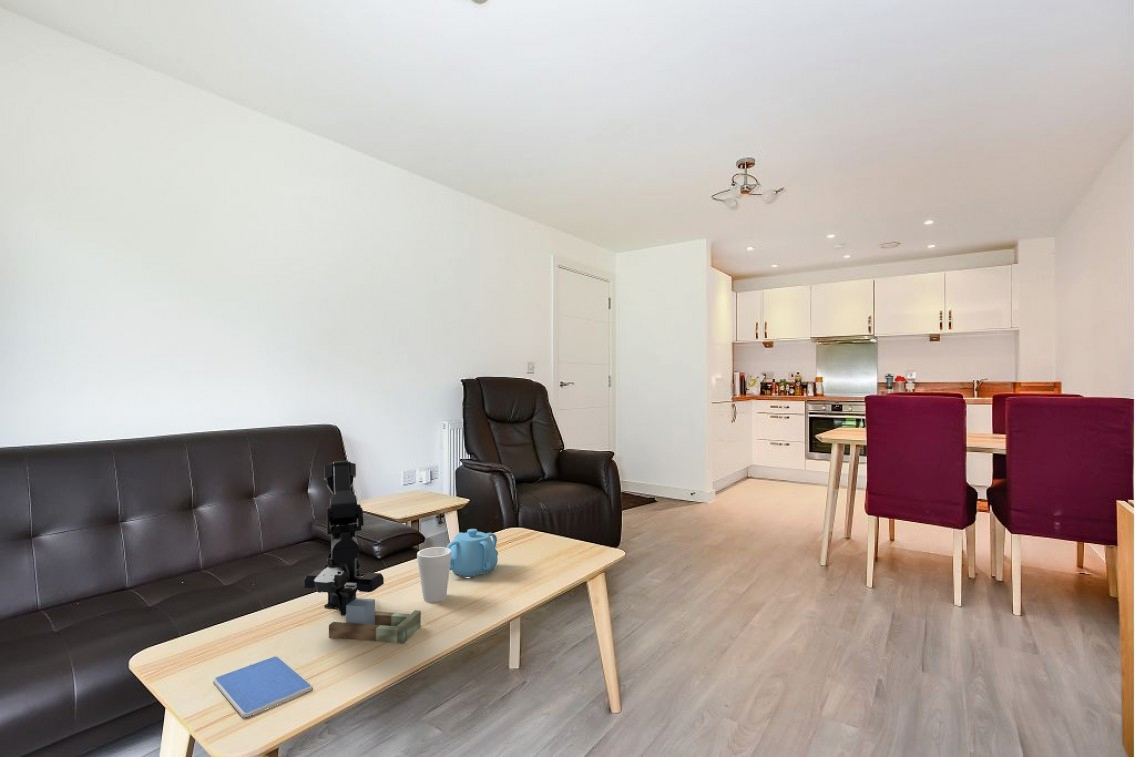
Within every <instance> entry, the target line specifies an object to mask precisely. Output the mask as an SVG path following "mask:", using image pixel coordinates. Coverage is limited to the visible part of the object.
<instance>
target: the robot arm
mask: <svg viewBox="0 0 1135 757" xmlns="http://www.w3.org/2000/svg"><path fill="white" fill-rule="evenodd" d="M323 473H324V474H323V480H324V481H326V487H327V489H328V490H329V492H330V493H331V494H332V496H331V497H330V498H329V506H328V507H326V527H327V528H326V532H327V535H330V536H331V537H330V539H331V541H330V545H331V546H330V548H331V549H330V552H329V554H328V555H327V561H326V563H324V569H321V568H320V569H319V568H318V569H316V570H314V571H312V572H311V573H308V574H307V575H306V576H305V577H304V579H303V588H304V589H315V588H316V592H317V593H327V603H326V604H324V605H323V607H324V608H330V609H338V611H339V613H340V615H341V616H343V617H346V605H347V604H349V603H350V602H352V601H353V600H355V599H356V598H357V592H359V593H373V592H374V591H376V590H377V589H378V588H380V587H381V586H383V585H384V583H385V581H384V579H385V578H384V575H383V574H382V573H381V572H380V573H378V572H367V573H366V574H364V575H362V576H361V563H360V562H359V559H358V558H360V548H359V543H358V539H357V532H359V531H362V527H363V526H364V524H365V523H364V512H363V507H362V505H361V504H359V503H358V501H357V500H358V498H357V495H355V494H353V493H352V490H351V489H352V486H353V485H354V484H353V483H354V478H355V479H356V477H357V463H354V462H351V461H349V460H339V461H338V460H337V461H336V460H335V461H333V462H331V463H328V464H326V465H324V466H323ZM330 526H331V528H330Z"/></svg>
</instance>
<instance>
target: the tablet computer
mask: <svg viewBox="0 0 1135 757" xmlns="http://www.w3.org/2000/svg"><path fill="white" fill-rule="evenodd" d="M212 683H213V684H214V686H216V688H217V689H218V690H219V692H221V694H223V696H224V697H225V698H226V699H227V701H228V702H229V703H230V704H231V705H232V707H234V709H235V710H236V711H237V712H238V714H239V715H240V716H241V718H245V717H247V718H249V717H248V716H250V717H252V716H251V715H253V714H255V715H257V714H256V713H258V712H260V713H262V712H261V711H263V710H265V709H267V708H270V707H272V708H274V707H273V706H275V705H277V704H279V705H281V704H280V703H282V702H284V703H286V702H288V701H287V700H289V701H290V699H291V700H293V699H295V698H294V697H296V698H298V697H300V696H302V695H304V694H306V692H307V693H309V692H310V691H312V690H313V684H311V683H310V682H308V680H306V679H305V678H304V677H303V676H302V675H300V673H298V672H297V671H296V670H295V669H293V667H292V666H290V665H289V664H288V663H287V662H285V661H284V660H283V659H281V657H279V656H277V655H275V656H272V657H269V658H266V659H263V660H261V661H258V662H255V663H252V664H250V665H247V666H243V667H241V668H238V669H235V670H233V671H230V672H227V673H224V674H221V675H219V676H216V677H215V678H213V681H212ZM301 694H302V695H301ZM299 695H300V696H299ZM297 696H298V697H297ZM292 698H293V699H292ZM285 701H286V702H285ZM282 704H283V703H282ZM277 706H278V705H277ZM275 707H276V706H275ZM270 709H271V708H270ZM265 711H266V710H265ZM263 712H264V711H263ZM258 714H259V713H258ZM253 716H254V715H253Z"/></svg>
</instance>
